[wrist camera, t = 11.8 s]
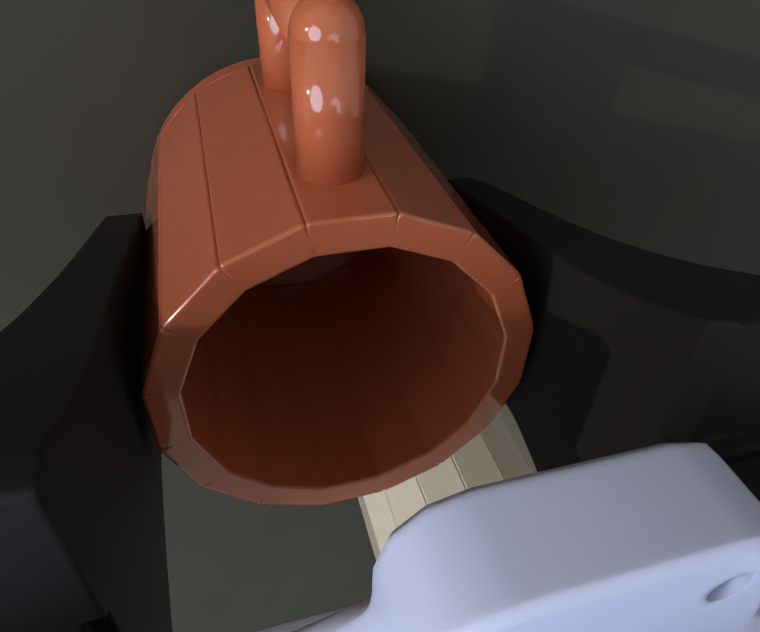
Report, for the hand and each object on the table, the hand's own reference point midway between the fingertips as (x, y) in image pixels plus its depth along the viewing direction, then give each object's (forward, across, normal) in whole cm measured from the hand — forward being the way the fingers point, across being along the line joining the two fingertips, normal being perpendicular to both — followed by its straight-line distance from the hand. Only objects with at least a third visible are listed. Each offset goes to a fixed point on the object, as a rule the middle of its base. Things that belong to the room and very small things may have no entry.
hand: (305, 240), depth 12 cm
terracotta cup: (+2, 0, -1) cm, 3 cm away
